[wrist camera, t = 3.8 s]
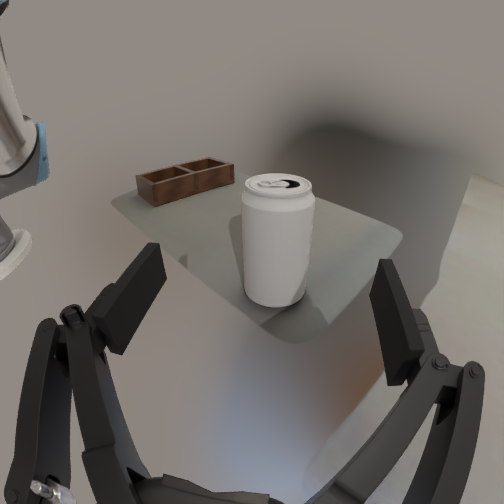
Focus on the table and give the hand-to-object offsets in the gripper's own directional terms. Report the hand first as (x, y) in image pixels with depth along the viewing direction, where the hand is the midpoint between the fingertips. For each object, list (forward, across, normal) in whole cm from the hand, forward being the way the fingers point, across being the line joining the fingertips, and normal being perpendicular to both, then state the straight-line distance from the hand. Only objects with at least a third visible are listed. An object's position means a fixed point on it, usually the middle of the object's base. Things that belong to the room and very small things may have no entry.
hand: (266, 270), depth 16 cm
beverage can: (+10, 0, -10) cm, 14 cm away
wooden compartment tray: (+40, -21, -10) cm, 46 cm away
